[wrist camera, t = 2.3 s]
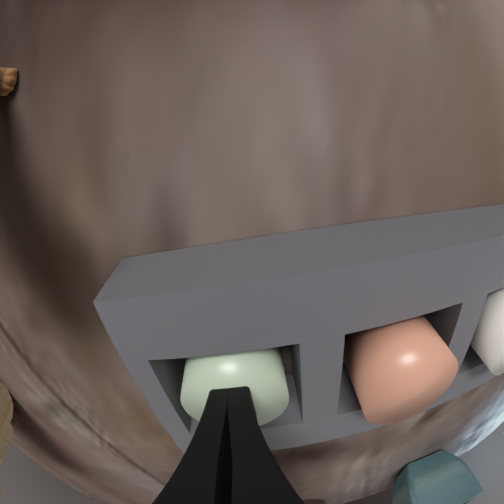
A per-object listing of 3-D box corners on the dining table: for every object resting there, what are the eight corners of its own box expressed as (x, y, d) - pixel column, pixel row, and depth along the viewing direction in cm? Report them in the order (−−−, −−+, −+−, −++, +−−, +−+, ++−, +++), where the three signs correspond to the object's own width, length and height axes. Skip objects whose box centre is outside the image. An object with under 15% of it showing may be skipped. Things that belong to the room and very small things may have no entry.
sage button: (274, 307, 12) (285, 361, 9) (282, 372, 13) (291, 422, 11) (177, 320, 12) (165, 373, 9) (201, 381, 13) (197, 431, 11)
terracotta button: (432, 295, 10) (471, 340, 8) (414, 361, 12) (440, 405, 9) (345, 315, 10) (373, 374, 8) (339, 382, 12) (357, 434, 9)
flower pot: (396, 462, 22) (418, 527, 14) (459, 434, 22) (486, 490, 14) (379, 485, 26) (394, 538, 18) (435, 463, 26) (454, 510, 18)
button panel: (524, 201, 10) (562, 221, 8) (486, 341, 15) (508, 369, 12) (122, 258, 11) (92, 302, 8) (189, 412, 15) (185, 455, 12)
